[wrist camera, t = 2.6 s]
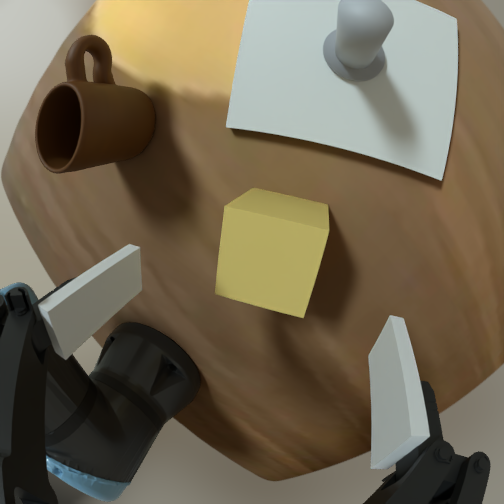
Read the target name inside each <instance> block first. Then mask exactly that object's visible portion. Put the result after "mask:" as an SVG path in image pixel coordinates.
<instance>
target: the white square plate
mask: <svg viewBox="0 0 504 504" xmlns="http://www.w3.org/2000/svg"><path fill="white" fill-rule="evenodd" d="M457 75H458V32H457V19H456V18H454V17H452V16H450V15H448V14H445V13H443V12H441V11H439V10H437V9H435V8H432V7H430V6H428V5H425V4H423V3H420V2H418V1H415V0H249V4H248V8H247V13H246V18H245V22H244V27H243V32H242V37H241V42H240V47H239V53H238V58H237V63H236V69H235V74H234V80H233V86H232V92H231V98H230V104H229V110H228V116H227V123H226V127H228V128H236V129H244V130H251V131H258V132H264V133H270V134H276V135H282V136H287V137H293V138H298V139H303V140H307V141H312V142H317V143H321V144H325V145H330V146H334V147H338V148H342V149H346V150H349V151H353V152H357V153H360V154H364V155H367V156H371V157H374V158H378V159H381V160H384V161H387V162H390V163H393V164H396V165H399V166H402V167H405V168H408V169H411V170H414V171H417V172H419V173H422V174H425V175H427V176H430V177H433V178H435V179H438V180H440V181H442V178H443V173H444V169H445V165H446V160H447V155H448V150H449V144H450V139H451V133H452V126H453V119H454V111H455V102H456V91H457Z"/></svg>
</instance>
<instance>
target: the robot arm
mask: <svg viewBox="0 0 504 504" xmlns="http://www.w3.org/2000/svg"><path fill="white" fill-rule="evenodd" d="M140 291H142V279H141V260H140V247H137V246H134V245H131V244H129V245H127V246H125V247H124V248H122V249H120V250H119V251H117V252H116V253H114V254H112V255H111V256H109V257H108V258H106V259H104V260H103V261H101V262H100V263H98V264H97V265H95V266H93V267H92V268H90V269H89V270H87V271H86V272H84V273H83V274H81V275H80V276H78V277H76V278H73V279H70V280H67V281H66V282H64V283H63V284H61V285H60V286H59V287H57V288H55V289H54V291H51V292H49V293H48V294H47V295H45V296H44V297H43V298H41V299H40V300H38V298H37V296H36V295H35V293H34V291H33V290H32V289H31V288H30V287H29V286H28V285H27V284H24V283H14V284H11V285H9V286H7V287H5V288H2V289H0V504H15V498H14V495H15V496H17V497H19V498H20V499H21V500H22V502H23V504H58V500H57V497H56V494H55V492H54V490H53V489H52V487H51V486H50V483H49V480H48V472H47V470H49V471H50V472H51V473H53V474H55V475H56V476H57V477H59V478H61V480H63V481H64V482H66V483H68V484H69V485H71V486H73V487H74V488H76V489H78V490H80V491H81V492H84V493H85V494H87V495H90V496H92V497H94V498H96V499H99V500H102V501H107V502H110V501H114V500H116V499H117V498H119V496H120V495H121V494H122V492H123V490H124V489H125V488H126V487H127V486H128V485H130V483H131V481H132V479H133V477H134V475H135V474H136V472H137V470H138V468H139V467H140V465H141V463H142V461H143V460H144V458H145V456H146V454H147V453H148V451H149V449H150V448H151V446H152V444H153V442H154V440H155V439H156V437H157V435H158V433H159V431H160V430H161V428H162V427H163V425H164V424H165V423H166V422H167V421H168V420H169V419H171V418H172V417H173V416H175V415H176V414H177V413H178V412H180V411H181V410H182V409H183V408H185V407H186V406H187V405H188V404H190V403H191V401H192V400H193V399H194V397H195V395H196V393H197V392H198V390H199V388H200V376H199V373H198V371H197V369H196V367H195V365H194V363H193V362H192V360H191V359H190V358H189V357H188V355H187V354H186V353H185V352H184V351H183V350H182V349H181V348H180V347H179V346H178V345H177V344H176V343H174V342H173V341H172V340H171V339H169V338H168V337H166V336H165V335H163V334H162V333H160V332H158V331H157V330H155V329H153V328H150V327H148V326H145V325H142V324H138V323H123V324H121V325H119V326H118V327H117V328H116V329H115V330H114V331H113V332H112V333H111V334H110V335H109V336H108V338H107V340H106V342H105V344H104V346H103V349H102V351H101V354H100V356H99V359H98V361H97V364H96V366H95V369H94V370H93V371H92V372H91V374H90V375H89V376H88V375H87V374H86V372H85V371H84V370H83V368H82V367H81V366H80V364H79V363H78V361H77V360H76V359H75V357H74V356H73V352H75V351H76V350H77V349H78V348H79V347H80V346H81V345H82V344H83V343H84V342H85V341H86V340H87V339H88V338H90V337H91V336H92V335H93V334H94V333H95V332H96V331H97V330H98V329H99V328H100V327H101V326H102V325H104V324H105V323H106V322H107V321H108V320H109V319H110V318H111V317H112V316H113V315H115V314H116V313H117V312H118V311H119V310H120V309H121V308H122V307H123V306H125V305H126V304H127V303H128V302H129V301H130V300H131V299H132V298H134V297H135V296H136V295H137V294H138V293H139V292H140ZM368 357H369V370H370V387H371V420H372V437H371V469H389V468H390V467H391V466H393V465H394V464H396V471H395V472H393V473H392V474H390V475H389V476H387V477H386V478H384V479H383V480H382V481H383V482H384V481H385V482H384V483H383V484H382V485H381V486H380V487H379V488H378V489H377V490H376V492H375V493H374V494H372V496H370V498H368V499H367V500H366V501H365V503H363V504H482V501H483V497H484V494H485V490H486V486H487V482H488V477H489V473H490V460H489V458H488V456H487V455H486V454H485V453H483V452H476V453H474V454H473V455H471V456H470V457H469V458H467V457H464V456H461V455H457V454H455V452H454V449H453V447H452V446H451V445H450V444H449V443H448V442H446V441H444V440H443V436H442V430H441V424H440V418H439V413H438V411H437V409H438V408H437V403H435V402H436V399H435V395H434V391H433V389H432V388H431V386H430V384H429V383H428V382H425V381H420V378H419V374H418V369H417V365H416V361H415V357H414V353H413V350H412V346H411V342H410V339H409V335H408V332H407V328H406V325H405V322H404V319H403V318H400V317H396V316H392V315H390V316H389V318H388V320H387V322H386V324H385V326H384V328H383V330H382V332H381V334H380V336H379V338H378V339H377V341H376V343H375V345H374V347H373V348H372V350H371V352H370V354H369V356H368Z"/></svg>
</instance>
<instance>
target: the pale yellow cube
mask: <svg viewBox="0 0 504 504" xmlns="http://www.w3.org/2000/svg"><path fill="white" fill-rule="evenodd" d="M328 234H329V212H328V205H327V204H323V203H319V202H315V201H311V200H307V199H302V198H298V197H294V196H290V195H285V194H281V193H276V192H271V191H267V190H262V189H257V188H252V189H250V190H249V191H247V192H246V193H244V194H243V195H241V196H240V197H238V198H237V199H235V200H233V201H232V202H230V203H229V204H227V205H226V206H225V208H224V216H223V224H222V232H221V241H220V249H219V258H218V268H217V277H216V287H215V294H217V295H220V296H224V297H227V298H231V299H234V300H238V301H241V302H245V303H248V304H252V305H255V306H259V307H263V308H266V309H270V310H274V311H277V312H281V313H285V314H289V315H293V316H297V317H301V318H304V315H305V312H306V309H307V305H308V302H309V299H310V296H311V293H312V290H313V286H314V283H315V280H316V276H317V273H318V270H319V266H320V263H321V259H322V256H323V252H324V249H325V245H326V241H327V238H328Z"/></svg>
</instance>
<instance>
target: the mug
mask: <svg viewBox="0 0 504 504" xmlns="http://www.w3.org/2000/svg"><path fill="white" fill-rule="evenodd" d="M85 51H87V52H89V53H90V54H91V55H92V57H93V60H94V67H93V80H94V82H88V81H87V79H86V73H85V65H84V53H85ZM65 66H66V74H67V82H63V83H60V84H58V85H57V86H55V87H54V88H53V89H52V90H51V91H50V92H49V93H48V94H47V96H46V97H45V99H44V101H43V103H42V105H41V107H40V110H39V113H38V117H37V121H36V129H35V141H36V148H37V152H38V155H39V158H40V160H41V162H42V164H43V165H44V167H45V168H46V169H48V170H49V171H51V172H53V173H65V172H72V171H78V170H82V169H86V168H91V167H95V166H100V165H105V164H109V163H113V162H118V161H123V160H127V159H130V158H133V157H135V156H137V155H138V154H139V153H141V152H142V151H143V150H144V149H145V147H146V146H147V145H148V143H149V141H150V139H151V137H152V135H153V132H154V128H155V110H154V107H153V104H152V102H151V100H150V99H149V97H148V96H147V95H146V94H145V93H144V92H142V91H140V90H138V89H135V88H131V87H124V86H118V85H116V84H115V82H114V79H113V75H112V72H111V67H112V55H111V50H110V48H109V46H108V44H107V43H106V42H105V41H104V40H103V39H102V38H100V37H98V36H96V35H86V36H83V37H80V38H79V39H78V40H76V41H75V42H74V43H73V44H72V46H71V47H70V49H69V51H68V53H67V56H66V60H65Z"/></svg>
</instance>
